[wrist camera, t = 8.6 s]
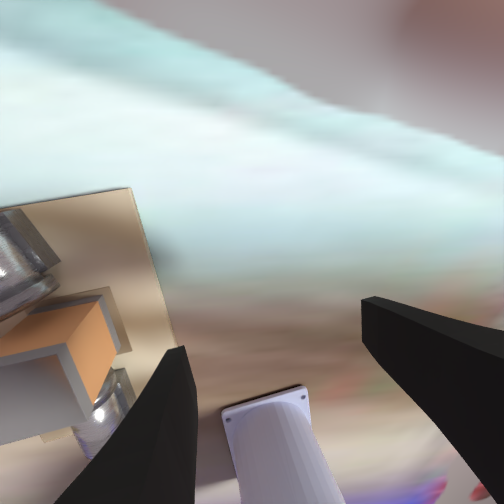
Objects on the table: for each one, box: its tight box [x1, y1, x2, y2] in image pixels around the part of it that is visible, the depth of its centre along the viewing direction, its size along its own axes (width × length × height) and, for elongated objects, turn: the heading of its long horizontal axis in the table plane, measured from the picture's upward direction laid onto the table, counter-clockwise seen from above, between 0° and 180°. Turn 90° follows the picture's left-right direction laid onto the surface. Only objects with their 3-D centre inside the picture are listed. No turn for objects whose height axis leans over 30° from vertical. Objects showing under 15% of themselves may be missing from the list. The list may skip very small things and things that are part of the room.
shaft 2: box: [70, 367, 137, 459], centre depth 18 cm, size 5×4×5 cm
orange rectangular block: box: [0, 295, 121, 446], centre depth 15 cm, size 4×4×6 cm
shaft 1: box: [0, 208, 61, 322], centre depth 14 cm, size 5×4×5 cm
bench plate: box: [0, 188, 178, 443], centre depth 18 cm, size 17×11×1 cm, turn 8°
